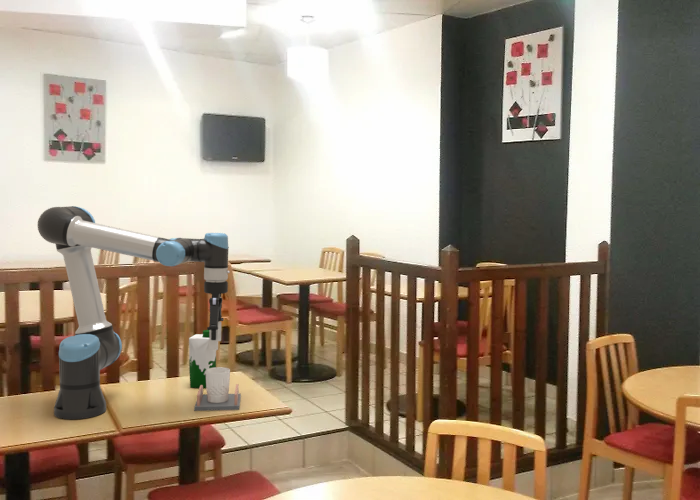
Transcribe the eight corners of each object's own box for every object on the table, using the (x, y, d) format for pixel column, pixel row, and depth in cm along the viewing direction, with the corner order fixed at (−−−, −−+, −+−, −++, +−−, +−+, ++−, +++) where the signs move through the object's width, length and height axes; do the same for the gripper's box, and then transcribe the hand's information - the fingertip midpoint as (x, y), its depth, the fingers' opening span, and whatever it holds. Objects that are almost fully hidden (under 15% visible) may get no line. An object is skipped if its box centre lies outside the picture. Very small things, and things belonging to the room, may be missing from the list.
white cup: (227, 404, 219) (227, 373, 218) (202, 403, 219) (202, 372, 218) (231, 397, 227) (232, 367, 226) (208, 396, 227) (208, 366, 226)
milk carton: (211, 389, 240) (211, 333, 238) (186, 388, 240) (186, 332, 239) (218, 382, 248) (218, 328, 247) (194, 381, 249) (194, 327, 248)
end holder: (194, 410, 215) (194, 396, 215) (198, 397, 229) (198, 384, 229) (239, 409, 217) (239, 395, 217) (240, 397, 231) (240, 383, 230)
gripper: (225, 285, 208) (224, 353, 210) (230, 276, 233) (229, 337, 235) (200, 285, 208) (199, 353, 209) (207, 276, 232) (207, 337, 234)
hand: (215, 345), depth 222 cm, fingers open, 13 cm apart
